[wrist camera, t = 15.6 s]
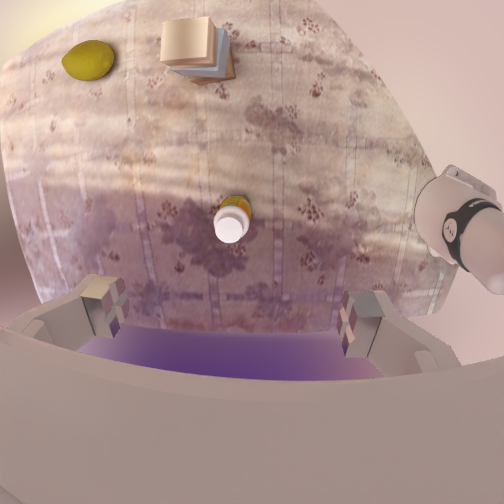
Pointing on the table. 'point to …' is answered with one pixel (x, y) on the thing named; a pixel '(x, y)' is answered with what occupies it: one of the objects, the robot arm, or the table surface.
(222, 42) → the top block
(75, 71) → the lemon
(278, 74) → the table surface
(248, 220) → the supplement bottle
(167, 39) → the maple block
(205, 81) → the bottom block
